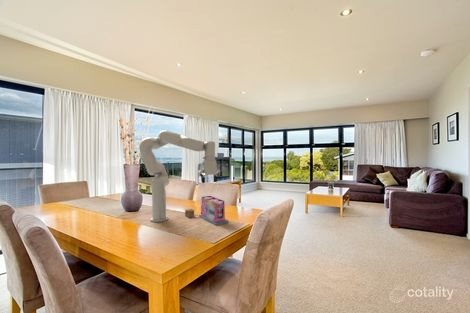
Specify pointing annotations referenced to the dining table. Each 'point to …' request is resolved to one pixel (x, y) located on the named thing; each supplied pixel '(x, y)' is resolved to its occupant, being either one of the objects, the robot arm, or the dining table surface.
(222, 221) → the board
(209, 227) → the dining table surface
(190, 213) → the walnut block
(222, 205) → the gum box
